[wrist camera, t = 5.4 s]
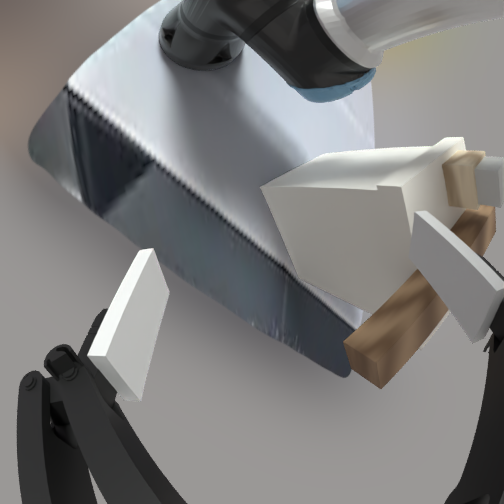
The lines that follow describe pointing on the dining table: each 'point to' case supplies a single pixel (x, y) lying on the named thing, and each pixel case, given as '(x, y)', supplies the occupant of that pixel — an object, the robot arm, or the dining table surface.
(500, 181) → the grey offcut
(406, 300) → the walnut block
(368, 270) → the cream stand
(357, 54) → the robot arm
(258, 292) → the dining table surface
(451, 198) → the birch offcut
